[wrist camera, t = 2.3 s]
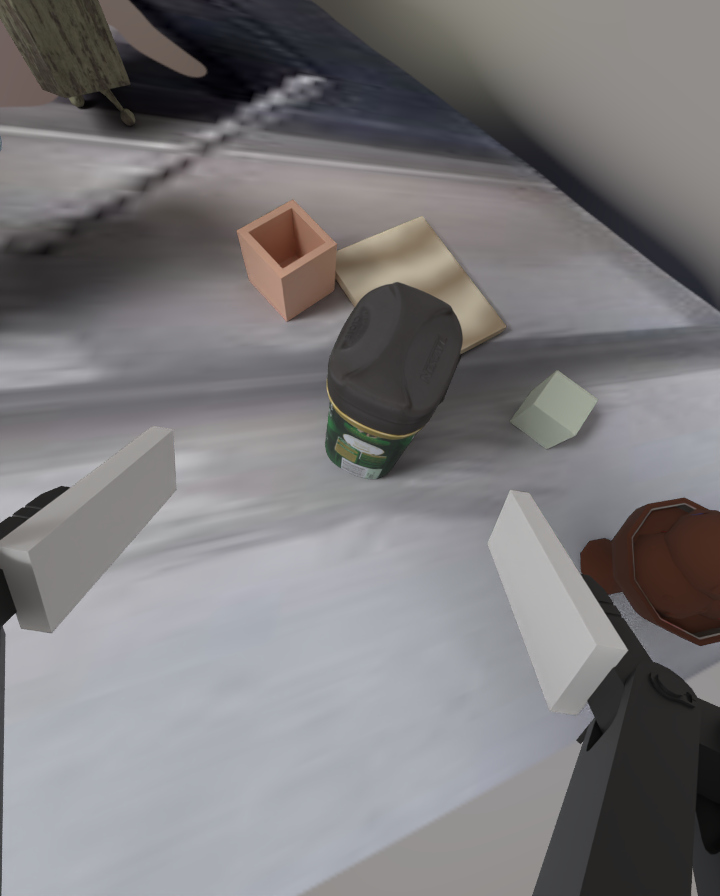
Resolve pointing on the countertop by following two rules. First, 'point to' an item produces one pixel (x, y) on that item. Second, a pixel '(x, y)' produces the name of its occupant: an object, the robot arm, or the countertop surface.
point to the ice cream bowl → (665, 567)
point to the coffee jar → (388, 376)
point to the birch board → (417, 275)
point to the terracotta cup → (289, 259)
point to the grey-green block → (554, 410)
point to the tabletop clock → (67, 48)
